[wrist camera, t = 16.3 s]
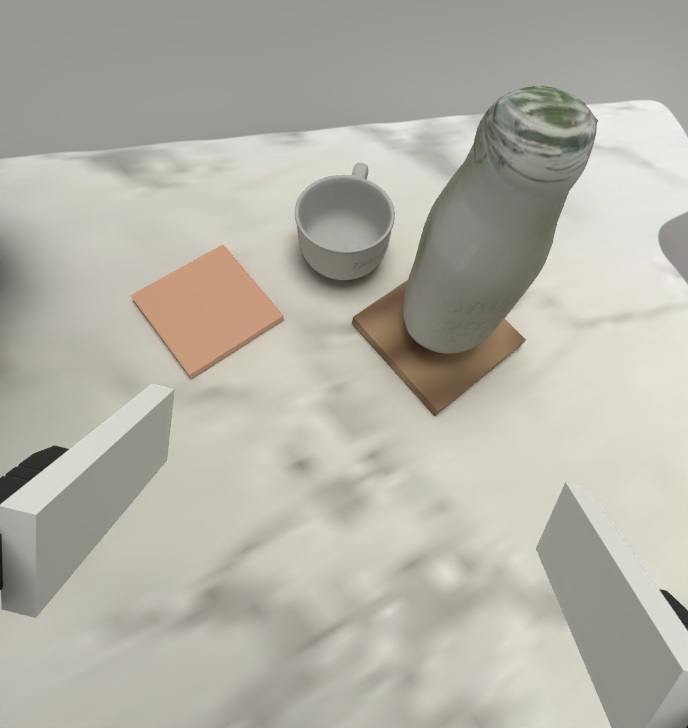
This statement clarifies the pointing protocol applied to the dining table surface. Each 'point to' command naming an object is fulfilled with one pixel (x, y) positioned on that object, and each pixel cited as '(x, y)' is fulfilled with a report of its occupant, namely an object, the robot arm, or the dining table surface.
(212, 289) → the terracotta tile
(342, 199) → the teacup
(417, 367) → the walnut board
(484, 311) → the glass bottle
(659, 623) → the robot arm
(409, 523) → the dining table surface
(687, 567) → the dining table surface
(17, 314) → the dining table surface
